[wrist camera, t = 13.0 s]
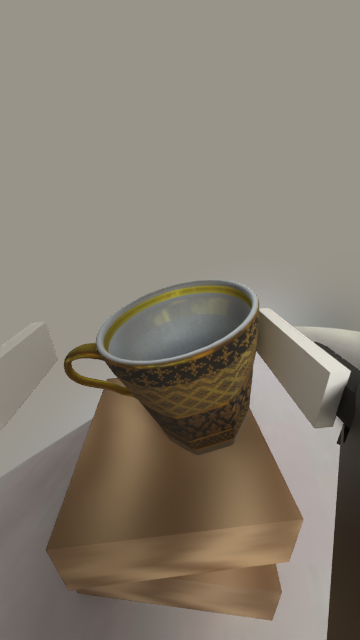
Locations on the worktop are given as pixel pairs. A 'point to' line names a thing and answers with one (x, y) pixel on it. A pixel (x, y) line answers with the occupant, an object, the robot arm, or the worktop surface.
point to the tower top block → (168, 503)
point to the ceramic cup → (183, 359)
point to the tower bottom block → (206, 591)
